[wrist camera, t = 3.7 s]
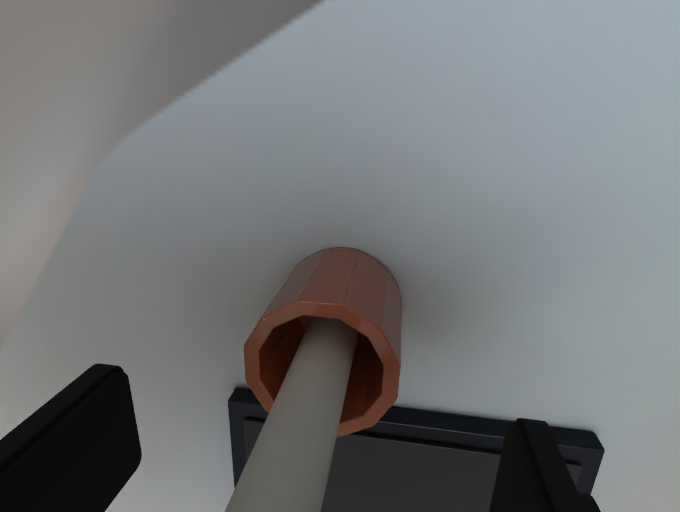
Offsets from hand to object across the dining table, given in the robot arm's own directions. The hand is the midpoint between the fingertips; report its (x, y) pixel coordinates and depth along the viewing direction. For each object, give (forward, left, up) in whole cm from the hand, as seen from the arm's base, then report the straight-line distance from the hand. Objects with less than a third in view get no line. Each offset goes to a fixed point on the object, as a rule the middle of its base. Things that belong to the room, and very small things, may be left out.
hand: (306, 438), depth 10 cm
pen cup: (0, 0, -8) cm, 8 cm away
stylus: (0, 0, -7) cm, 7 cm away
